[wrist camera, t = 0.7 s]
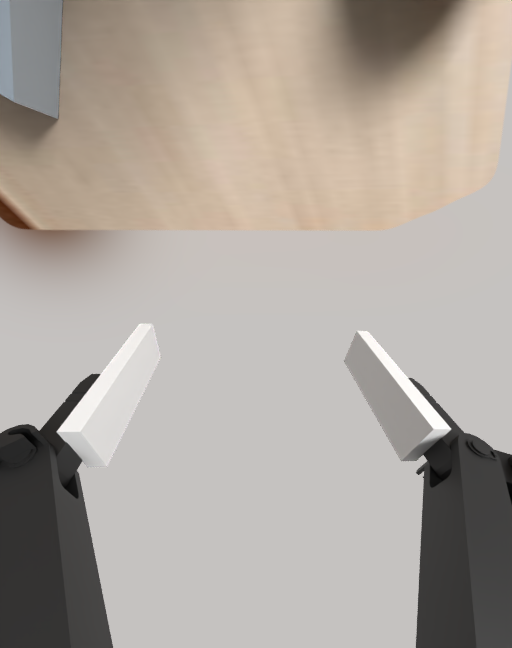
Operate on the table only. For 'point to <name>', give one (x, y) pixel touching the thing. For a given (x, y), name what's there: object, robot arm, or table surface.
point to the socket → (31, 53)
